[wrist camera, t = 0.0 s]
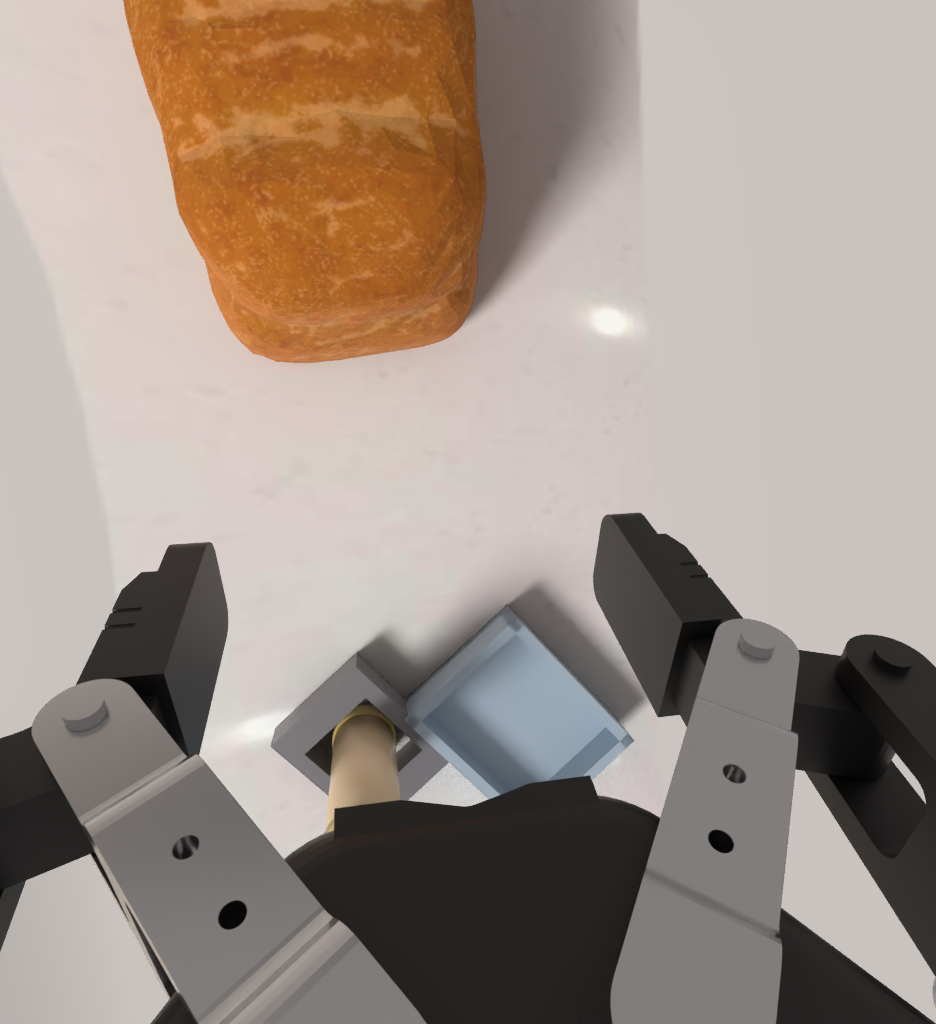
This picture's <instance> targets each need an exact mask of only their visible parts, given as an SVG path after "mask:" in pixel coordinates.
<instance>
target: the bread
mask: <svg viewBox="0 0 936 1024" xmlns="http://www.w3.org/2000/svg"><path fill="white" fill-rule="evenodd" d="M123 1H124V7H125V14H126V19H127V23H128V27H129V30H130V34H131V38H132V42H133V46H134V50H135V53H136V56H137V60H138V63H139V66H140V70H141V73H142V76H143V79H144V82H145V85H146V89H147V92H148V95H149V97H150V100H151V102H152V105H153V108H154V110H155V113H156V115H157V118H158V120H159V123H160V125H161V129H162V134H163V138H164V143H165V147H166V152H167V157H168V161H169V166H170V170H171V175H172V180H173V185H174V191H175V197H176V203H177V207H178V211H179V214H180V216H181V218H182V220H183V222H184V224H185V226H186V228H187V230H188V232H189V234H190V236H191V238H192V240H193V242H194V244H195V246H196V247H197V249H198V251H199V253H200V255H201V256H202V257H203V259H204V260H205V263H206V267H207V271H208V275H209V279H210V283H211V288H212V292H213V294H214V296H215V299H216V301H217V304H218V306H219V308H220V310H221V312H222V314H223V316H224V318H225V320H226V322H227V324H228V326H229V328H230V330H231V331H232V332H233V333H234V335H235V336H236V337H237V338H238V339H239V341H240V342H241V343H242V344H243V345H244V346H246V347H247V348H248V349H249V350H250V351H251V352H252V353H253V354H257V355H261V356H265V357H267V358H270V359H272V360H274V361H278V362H293V363H314V362H323V361H333V360H342V359H348V358H354V357H360V356H367V355H373V354H379V353H385V352H392V351H398V350H404V349H410V348H416V347H423V346H426V345H429V344H433V343H436V342H439V341H442V340H444V339H446V338H448V337H450V336H451V335H452V334H454V333H455V332H456V331H457V330H458V329H459V328H460V327H461V326H462V324H463V323H464V321H465V319H466V317H467V315H468V313H469V311H470V309H471V306H472V302H473V298H474V293H475V288H476V283H477V261H478V245H479V242H480V239H481V236H482V228H483V219H484V211H485V202H486V174H485V168H484V161H483V154H482V147H481V140H480V132H479V123H478V115H477V107H476V53H475V40H476V33H475V19H474V8H473V2H472V0H123Z"/></svg>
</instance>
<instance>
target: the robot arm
mask: <svg viewBox="0 0 936 1024" xmlns="http://www.w3.org/2000/svg"><path fill="white" fill-rule="evenodd" d="M593 583H594V591H595V595H596V599H597V601H598V603H599V605H600V607H601V609H602V611H603V613H604V615H605V617H606V619H607V621H608V623H609V624H610V626H611V628H612V630H613V632H614V634H615V636H616V638H617V640H618V642H619V644H620V645H621V647H622V649H623V651H624V653H625V655H626V657H627V659H628V661H629V663H630V665H631V666H632V668H633V670H634V672H635V674H636V676H637V678H638V680H639V682H640V684H641V686H642V687H643V689H644V691H645V693H646V695H647V697H648V699H649V701H650V703H651V705H652V706H653V708H654V710H655V712H656V714H657V716H658V717H664V716H673V715H680V716H681V717H682V719H683V721H684V723H685V725H686V726H687V730H686V733H685V737H684V740H683V744H682V747H681V750H680V754H679V757H678V760H677V764H676V767H675V770H674V774H673V777H672V781H671V784H670V787H669V791H668V794H667V798H666V801H665V804H664V808H663V811H662V814H661V818H659V817H657V816H656V815H654V814H652V813H651V812H649V811H647V810H644V809H642V808H640V807H638V806H636V805H633V804H630V803H627V802H624V801H622V800H618V799H614V798H609V797H605V796H597V793H596V790H595V788H594V785H593V782H592V780H591V777H590V775H589V776H581V777H573V778H566V779H558V780H550V781H542V782H535V783H529V784H527V785H524V786H521V787H519V788H516V789H514V790H511V791H509V792H506V793H504V794H501V795H499V796H496V797H494V798H491V799H489V800H486V801H484V802H481V803H479V804H476V805H473V806H468V807H461V806H452V805H442V804H433V803H424V802H414V801H405V800H396V801H388V802H380V803H373V804H365V805H357V806H350V807H342V808H334V830H333V831H330V832H328V833H325V834H323V835H321V836H319V837H317V838H315V839H313V840H311V841H309V842H307V843H306V844H304V845H303V846H301V847H300V848H298V849H297V850H295V851H294V852H292V853H291V854H290V855H289V856H288V857H286V858H285V859H283V858H282V857H281V855H280V854H279V853H278V852H277V850H276V849H275V848H274V847H273V845H272V844H271V843H270V842H269V840H268V839H267V838H266V837H265V836H264V834H263V833H262V832H261V831H260V829H259V828H258V827H257V826H256V824H255V823H254V822H253V821H252V819H251V818H250V817H249V816H248V815H247V813H246V812H245V811H244V810H243V808H242V807H241V806H240V805H239V803H238V802H237V801H236V800H235V799H234V797H233V796H232V795H231V794H230V792H229V791H228V790H227V789H226V787H225V786H224V785H223V784H222V782H221V781H220V780H219V779H218V778H217V776H216V775H215V774H214V773H213V771H212V770H211V769H210V768H209V766H208V765H207V764H206V763H205V762H204V760H203V759H202V758H201V757H200V756H199V753H200V748H201V744H202V740H203V736H204V731H205V727H206V723H207V719H208V714H209V710H210V706H211V701H212V697H213V693H214V689H215V684H216V680H217V676H218V672H219V667H220V663H221V659H222V654H223V650H224V646H225V642H226V637H227V631H228V610H227V603H226V599H225V594H224V589H223V585H222V580H221V576H220V571H219V567H218V562H217V558H216V553H215V549H214V547H213V545H212V543H211V542H205V543H190V544H175V545H169V547H168V548H167V550H166V553H165V555H164V557H163V560H162V562H161V564H160V567H159V569H158V571H155V572H141V573H140V574H139V575H138V576H137V577H136V578H135V579H134V580H133V581H131V582H130V583H129V584H128V585H127V586H126V587H125V588H124V589H122V591H121V593H120V595H119V597H118V599H117V601H116V603H115V605H114V607H113V613H111V614H110V615H109V618H108V620H107V622H106V624H105V630H102V632H101V634H100V636H99V638H98V640H97V642H96V645H95V647H94V649H93V651H92V653H91V655H90V657H89V659H88V661H87V663H86V665H85V667H84V669H83V671H82V674H81V676H80V678H79V680H78V682H77V684H76V686H73V687H71V688H69V689H67V690H65V691H63V692H62V693H60V694H58V695H57V696H55V697H54V698H53V699H51V700H50V701H49V702H48V703H47V704H46V705H45V706H44V707H43V708H42V709H41V710H40V711H39V713H38V714H37V716H36V718H35V720H34V722H33V725H32V727H30V728H27V729H25V730H23V731H21V732H18V733H15V734H13V735H10V736H6V737H3V738H0V951H1V948H2V945H3V942H4V940H5V937H6V934H7V931H8V929H9V926H10V923H11V920H12V917H13V915H14V912H15V909H16V906H17V904H18V901H19V898H20V895H21V893H22V890H23V887H24V884H25V881H26V880H27V879H30V878H33V877H35V876H37V875H40V874H42V873H45V872H47V871H50V870H52V869H54V868H57V867H59V866H62V865H64V864H66V863H69V862H71V861H74V860H76V859H79V858H81V857H83V856H86V855H88V854H90V856H91V858H92V860H93V861H94V863H95V865H96V867H97V868H98V870H99V872H100V874H101V876H102V877H103V879H104V881H105V883H106V885H107V886H108V888H109V890H110V892H111V894H112V895H113V897H114V899H115V901H116V903H117V904H118V906H119V908H120V910H121V912H122V913H123V915H124V917H125V919H126V921H127V922H128V924H129V926H130V928H131V929H132V931H133V933H134V935H135V937H136V939H137V941H138V942H139V944H140V946H141V948H142V950H143V952H144V954H145V956H146V958H147V960H148V962H149V964H150V965H151V967H152V969H153V971H154V973H155V975H156V977H157V979H158V980H159V982H160V984H161V986H162V988H163V990H164V991H165V993H166V995H167V997H168V999H169V1001H168V1002H167V1003H166V1005H165V1006H164V1007H163V1009H162V1010H161V1011H160V1012H159V1014H158V1015H157V1016H156V1018H155V1019H154V1020H153V1021H152V1023H151V1024H935V1023H934V1022H933V1021H932V1020H930V1019H929V1018H928V1017H926V1016H925V1015H924V1014H922V1013H921V1012H920V1011H918V1010H917V1009H915V1008H914V1007H913V1006H912V1005H910V1004H909V1003H908V1002H906V1001H905V1000H903V999H902V998H901V997H899V996H898V995H897V994H896V993H894V992H893V991H892V990H890V989H889V988H887V987H886V986H884V984H882V983H881V982H879V981H878V980H877V979H875V978H874V977H873V976H871V975H870V974H869V973H867V972H866V971H865V970H863V969H862V968H861V967H859V966H858V965H857V964H855V963H854V962H853V961H851V960H850V959H849V958H847V957H846V956H845V955H843V954H842V953H841V952H839V951H838V950H837V949H835V948H834V947H833V946H831V945H830V944H829V943H827V942H826V941H825V940H823V939H822V938H820V937H819V936H818V935H817V934H815V933H814V932H813V931H811V930H810V929H809V928H807V927H806V926H805V925H803V924H802V923H801V922H799V921H798V920H797V919H795V918H794V917H793V916H791V915H790V914H789V913H787V912H786V911H785V910H783V909H782V908H781V902H782V891H783V883H784V873H785V864H786V854H787V844H788V835H789V825H790V815H791V806H792V796H793V787H794V778H795V769H797V770H804V771H805V772H806V774H807V775H808V777H809V778H810V780H811V781H812V783H813V785H814V786H815V788H816V789H817V791H818V793H819V794H820V796H821V797H822V799H823V800H824V802H825V804H826V805H827V807H828V808H829V810H830V811H831V813H832V814H833V816H834V818H835V819H836V821H837V822H838V824H839V826H840V827H841V829H842V830H843V832H844V833H845V835H846V837H847V838H848V840H849V841H850V843H851V844H852V846H853V848H854V849H855V851H856V852H857V854H858V855H859V857H860V859H861V860H862V862H863V863H864V865H865V866H866V868H867V869H868V871H869V873H870V874H871V876H872V877H873V879H874V880H875V882H876V883H877V885H878V887H879V888H880V890H881V891H882V893H883V895H884V896H885V898H886V899H887V901H888V903H889V904H890V906H891V907H892V909H893V910H894V912H895V914H896V915H897V916H898V918H899V920H900V921H901V923H902V925H903V926H904V927H905V929H906V931H907V932H908V934H909V935H910V937H911V939H912V940H913V942H914V943H915V945H916V947H917V948H918V950H919V951H920V953H921V954H922V956H923V957H924V959H925V961H926V962H927V964H928V965H929V967H930V968H931V970H932V972H933V973H934V975H935V976H936V667H935V666H934V665H933V664H932V663H931V662H930V661H929V660H927V659H926V658H925V657H924V656H923V655H922V654H920V653H919V652H918V651H916V650H915V649H913V648H911V647H910V646H908V645H906V644H904V643H902V642H899V641H896V640H894V639H891V638H888V637H883V636H878V635H859V636H856V637H853V638H851V639H850V640H849V641H848V642H847V644H846V647H845V649H844V651H843V654H842V655H841V656H837V655H830V654H823V653H816V652H809V651H802V650H798V649H797V647H796V645H795V644H794V642H793V641H792V640H791V639H790V638H789V637H788V636H787V635H785V634H784V633H783V632H781V631H780V630H778V629H776V628H775V627H773V626H770V625H768V624H766V623H763V622H760V621H756V620H751V619H743V618H742V616H741V615H740V614H739V613H738V612H737V610H736V609H735V608H734V606H733V605H732V604H731V603H730V601H729V600H728V599H727V598H726V597H725V595H724V594H723V593H722V591H721V590H720V589H719V588H718V586H717V585H716V584H715V583H714V581H713V580H712V579H711V578H708V574H707V573H706V571H705V570H704V569H703V568H702V566H701V565H698V562H697V560H696V559H695V558H694V556H693V555H692V554H691V553H690V552H689V550H688V549H687V548H686V547H685V546H684V545H682V544H681V543H679V542H678V541H676V540H675V539H673V538H672V537H670V536H669V535H667V534H657V533H656V531H655V530H654V528H653V527H652V526H651V525H650V523H649V522H648V521H647V519H646V518H645V517H644V515H643V514H641V513H627V514H612V515H606V516H605V517H604V518H603V520H602V523H601V529H600V535H599V542H598V548H597V554H596V561H595V567H594V575H593ZM895 753H896V754H897V755H898V756H899V757H900V759H901V760H902V761H903V762H904V763H905V765H906V766H907V767H908V769H909V770H910V771H911V772H912V774H913V775H914V776H915V777H916V779H917V780H918V781H919V783H920V784H921V787H922V789H923V791H924V795H925V798H926V804H925V803H924V801H923V800H922V799H921V798H920V796H919V795H918V794H917V793H916V791H915V790H914V789H913V787H912V786H911V785H910V784H909V782H908V781H907V780H906V778H905V777H904V776H903V775H902V773H901V772H900V771H899V769H898V768H897V767H896V766H895V764H894V763H893V762H892V761H891V760H892V758H893V756H894V755H895ZM933 998H934V1003H935V1007H936V977H935V979H934V984H933Z"/></svg>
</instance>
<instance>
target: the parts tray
mask: <svg viewBox="0 0 936 1024" xmlns="http://www.w3.org/2000/svg"><path fill="white" fill-rule="evenodd" d="M406 705H407V712H408V716H407V717H406V718H405V722H406V723H407V724H408V725H409V726H410V727H411V728H413V729H414V730H415V731H416V732H417V733H418V734H419V735H420V736H421V737H422V738H423V739H424V740H425V741H427V742H428V743H429V744H430V745H431V746H432V747H433V748H434V749H435V750H436V751H437V752H438V753H440V754H441V755H442V756H443V757H444V758H445V759H446V760H447V761H448V762H449V763H450V764H451V765H452V766H454V767H455V768H456V769H457V770H458V771H459V772H460V773H461V774H462V775H463V776H464V777H465V778H467V779H468V780H469V781H470V782H471V783H472V784H473V785H474V786H475V787H476V788H477V789H478V790H480V791H481V792H482V793H483V794H484V795H485V796H486V797H487V798H488V799H491V798H494V797H496V796H499V795H501V794H504V793H506V792H509V791H511V790H514V789H516V788H519V787H521V786H524V785H527V784H529V783H535V782H542V781H550V780H558V779H566V778H573V777H581V776H589V775H590V777H591V780H592V779H594V778H595V777H596V776H597V775H598V774H599V773H600V772H601V771H602V770H603V769H604V768H605V767H606V766H608V765H609V764H610V763H611V762H612V761H613V760H614V759H615V758H616V757H617V756H618V755H619V754H620V753H622V752H623V751H624V750H625V749H626V748H627V747H628V746H629V745H630V744H631V743H632V742H633V741H634V740H633V739H632V737H631V736H630V735H629V734H628V732H627V731H626V730H625V728H624V727H623V726H622V725H621V723H620V722H619V721H618V720H617V719H616V718H615V717H614V716H613V715H612V714H611V713H610V711H609V710H608V709H607V708H606V707H605V706H604V705H603V704H602V703H601V702H600V701H599V700H598V699H597V698H596V697H595V696H594V695H593V694H592V693H591V692H590V691H589V690H588V689H587V687H586V686H585V685H584V684H583V683H582V682H581V681H580V680H579V679H578V678H577V677H576V676H575V675H574V674H573V673H572V672H571V671H570V670H569V669H568V668H567V667H566V666H565V664H564V663H563V662H562V661H561V660H560V659H559V658H558V657H557V656H556V655H555V654H554V653H553V652H552V651H551V650H550V649H549V648H548V647H547V646H546V645H545V644H544V643H543V641H542V640H541V639H540V638H539V637H538V636H537V635H536V634H535V633H534V632H533V631H532V630H531V629H530V628H529V627H528V626H527V625H526V624H525V623H524V622H523V621H522V620H521V619H520V617H519V616H518V615H517V614H516V613H515V612H514V611H513V610H512V609H511V608H510V607H509V606H508V605H506V606H505V607H504V608H503V609H502V610H501V611H500V612H499V613H498V614H497V615H496V616H495V617H493V618H492V619H491V620H490V621H489V622H488V623H487V624H486V625H485V626H484V627H483V628H482V629H481V630H479V631H478V632H477V633H476V634H475V635H474V636H473V637H472V638H471V639H470V640H469V641H468V642H467V643H466V644H464V645H463V646H462V647H461V648H460V649H459V650H458V651H457V652H456V653H455V654H454V655H453V656H452V657H450V658H449V659H448V660H447V661H446V662H445V663H444V664H443V665H442V666H441V667H440V668H439V669H438V670H437V671H435V672H434V673H433V674H432V675H431V676H430V677H429V678H428V679H427V680H426V681H425V682H424V683H423V684H421V685H420V686H419V687H418V688H417V689H416V690H415V691H414V692H413V693H412V694H411V695H410V696H409V697H407V698H406Z"/></svg>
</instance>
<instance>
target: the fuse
mask: <svg viewBox="0 0 936 1024" xmlns="http://www.w3.org/2000/svg"><path fill="white" fill-rule="evenodd" d="M332 749H333V753H332V764H331V775H330V786H329V798H328V809H327V820H326V831H325V833H328V832H330V831H333V830H334V808H342V807H350V806H357V805H365V804H373V803H380V802H388V801H396V800H400V790H399V779H398V768H397V757H396V730H395V725H394V723H393V722H392V721H390V720H389V719H388V718H387V717H386V716H385V715H384V714H383V713H382V712H381V711H380V710H379V709H377V708H376V707H375V706H371V705H361V706H356V707H355V708H354V709H353V710H352V711H351V712H350V713H349V714H348V715H347V716H345V717H344V718H343V719H342V720H341V721H340V722H339V723H338V724H337V725H336V726H335V727H334V730H333V738H332ZM325 833H324V834H325Z"/></svg>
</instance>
